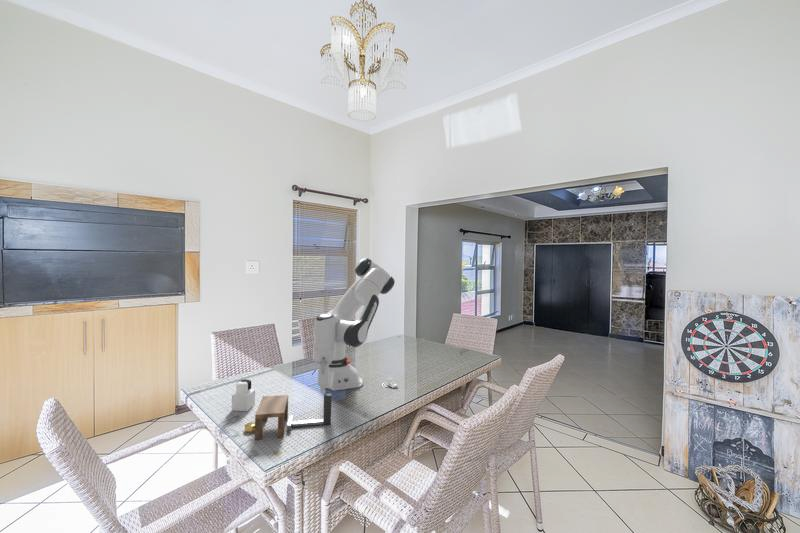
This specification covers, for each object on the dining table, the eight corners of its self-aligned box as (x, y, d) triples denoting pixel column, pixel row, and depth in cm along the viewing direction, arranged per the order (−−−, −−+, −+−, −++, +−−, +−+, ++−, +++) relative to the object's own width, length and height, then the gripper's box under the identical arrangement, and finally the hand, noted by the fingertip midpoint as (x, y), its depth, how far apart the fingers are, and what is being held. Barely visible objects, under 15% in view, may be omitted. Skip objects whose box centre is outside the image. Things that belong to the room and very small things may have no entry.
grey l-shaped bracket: (330, 418, 141) (331, 390, 141) (330, 428, 133) (331, 398, 133) (289, 421, 137) (289, 392, 137) (286, 431, 130) (287, 401, 129)
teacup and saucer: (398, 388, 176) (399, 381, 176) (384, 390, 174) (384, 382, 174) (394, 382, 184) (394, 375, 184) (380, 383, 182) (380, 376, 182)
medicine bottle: (239, 403, 152) (240, 377, 152) (255, 404, 152) (255, 378, 151) (231, 411, 145) (231, 383, 145) (247, 411, 145) (248, 384, 144)
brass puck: (259, 426, 134) (259, 421, 133) (257, 432, 129) (257, 427, 129) (245, 427, 132) (246, 422, 132) (243, 434, 127) (243, 429, 127)
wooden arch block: (287, 417, 141) (288, 395, 141) (283, 437, 126) (283, 412, 125) (262, 418, 139) (263, 396, 139) (254, 440, 123) (255, 414, 123)
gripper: (331, 362, 126) (330, 398, 127) (332, 347, 146) (331, 378, 147) (314, 362, 125) (313, 399, 125) (317, 347, 145) (316, 378, 145)
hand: (323, 387), depth 136 cm, fingers open, 8 cm apart
